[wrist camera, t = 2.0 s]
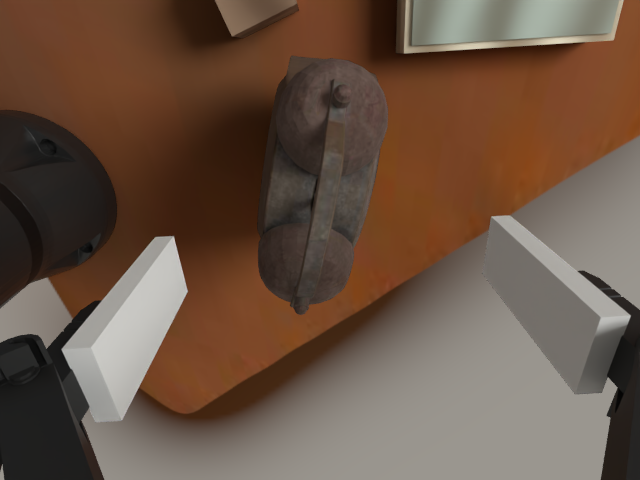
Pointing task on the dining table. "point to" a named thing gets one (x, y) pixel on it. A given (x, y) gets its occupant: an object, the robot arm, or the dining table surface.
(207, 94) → the dining table surface
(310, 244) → the alarm clock
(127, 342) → the robot arm
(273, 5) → the walnut block
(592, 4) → the picture frame
